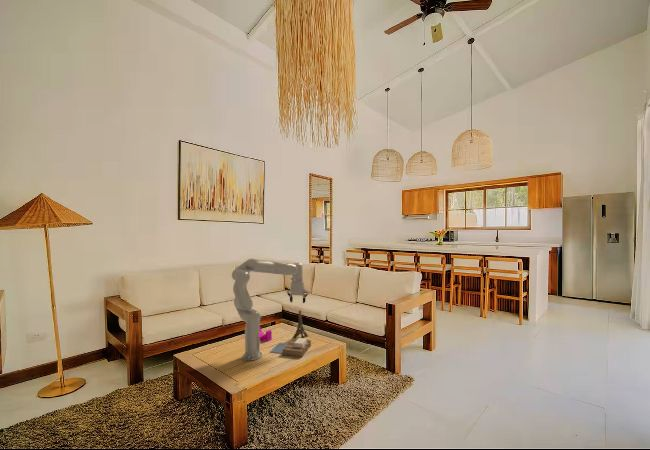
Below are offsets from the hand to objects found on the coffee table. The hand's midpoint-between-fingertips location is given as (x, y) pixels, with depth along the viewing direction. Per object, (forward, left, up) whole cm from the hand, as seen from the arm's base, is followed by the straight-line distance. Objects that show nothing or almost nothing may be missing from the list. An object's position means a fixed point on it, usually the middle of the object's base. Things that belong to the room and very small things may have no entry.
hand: (297, 302), depth 227 cm
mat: (-12, +9, -31) cm, 34 cm away
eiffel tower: (+11, +2, -31) cm, 33 cm away
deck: (-12, -4, -31) cm, 33 cm away
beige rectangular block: (-12, -6, -25) cm, 28 cm away
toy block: (+1, +30, -31) cm, 43 cm away
